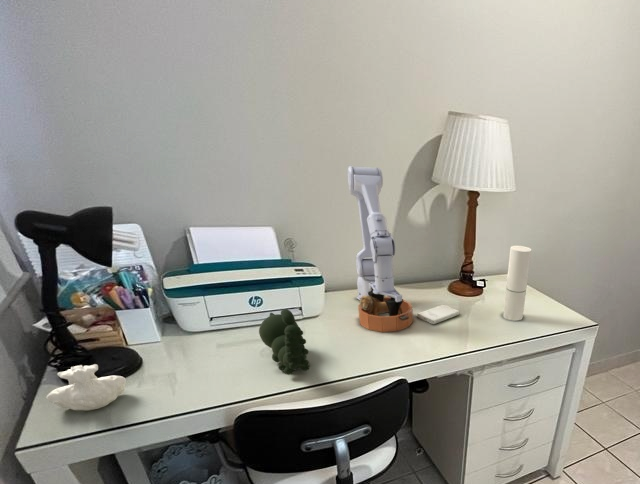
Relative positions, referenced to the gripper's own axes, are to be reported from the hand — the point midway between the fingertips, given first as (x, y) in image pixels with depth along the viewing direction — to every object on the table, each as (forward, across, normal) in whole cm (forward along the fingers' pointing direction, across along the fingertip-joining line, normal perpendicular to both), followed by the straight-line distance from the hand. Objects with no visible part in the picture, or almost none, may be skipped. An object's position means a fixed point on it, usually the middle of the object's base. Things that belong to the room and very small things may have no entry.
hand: (386, 315), depth 136 cm
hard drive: (+2, +8, +16) cm, 18 cm away
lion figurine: (+2, 0, -2) cm, 2 cm away
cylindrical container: (+2, +25, +37) cm, 45 cm away
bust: (+2, -3, -72) cm, 72 cm away
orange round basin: (+2, 0, 0) cm, 2 cm away
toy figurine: (+2, +5, -35) cm, 36 cm away
